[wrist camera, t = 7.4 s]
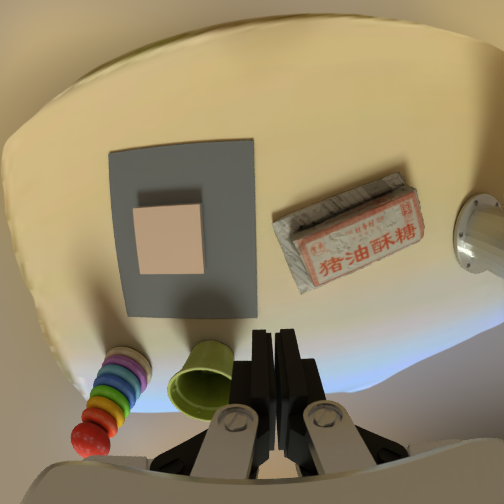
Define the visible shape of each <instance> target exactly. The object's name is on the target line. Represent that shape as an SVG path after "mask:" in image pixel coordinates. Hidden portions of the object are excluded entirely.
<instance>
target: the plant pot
mask: <svg viewBox="0 0 504 504" xmlns="http://www.w3.org/2000/svg"><path fill="white" fill-rule="evenodd" d="M233 361H234V355H233V353H232V351H231V350H230V348H229V347H228V346H226V345H224V344H222V343H220V342H218V341H214V340H207V341H203V342H200V343H198V344H197V345H196V346H195V347H194V348H193V350H192V352H191V353H190V355H189V357H188V359H187V361H186V363H185V364H184V366H183V368H182V369H181V370H180V371H179V372H178V373H176V374H175V375H174V376H173V377H172V378H171V380H170V381H169V384H168V387H167V392H168V396H169V399H170V401H171V402H172V404H173V405H174V406H175V407H176V408H177V409H178V410H179V411H181V412H182V413H183V414H185V415H187V416H189V417H191V418H194V419H197V420H202V421H208V422H211V420H212V418H213V415H214V414H215V412H216V411H217V410H218V409H220V408H221V407H224V406H226V405H229V395H230V386H231V378H232V369H233Z"/></svg>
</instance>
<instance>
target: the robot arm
mask: <svg viewBox="0 0 504 504" xmlns="http://www.w3.org/2000/svg"><path fill="white" fill-rule="evenodd" d="M454 251H455V255H456V258H457V260H458V262H459V264H460V265H461V267H462V268H464V269H465V270H466V271H468V272H470V273H474V274H477V273H482V272H484V271H486V270H488V271H490V272H491V273H493V274H495V275H497V276H499V277H500V278H502V279H504V208H502V206H501V205H500V203H499V201H498V200H497V199H496V198H495V197H493V196H492V195H489V194H484V193H480V194H476V195H474V196H472V197H471V198H470V199H468V200H467V202H466V203H465V204H464V205H463V207H462V209H461V211H460V213H459V215H458V218H457V221H456V225H455V230H454ZM276 420H277V435H278V449H279V450H284V456H285V457H287V458H288V459H290V460H291V461H293V462H295V463H296V464H295V465H296V470H297V474H298V476H299V477H296V478H281V479H257V478H258V472H259V466H260V465H261V464H263V463H264V462H265V461H266V460H268V459H269V450H274V443H275V423H276ZM20 504H504V440H501V439H496V438H479V439H472V440H466V441H462V440H459V439H449V440H443V441H435V442H427V443H417V444H409V445H408V447H403V446H402V445H400V444H398V443H396V442H394V441H391V440H389V439H386V438H384V437H381V436H379V435H377V434H374V433H372V432H370V431H367V430H365V429H363V428H361V427H358V426H356V425H354V423H353V422H352V420H351V418H350V416H349V414H348V413H347V411H346V409H345V408H344V407H343V406H342V405H340V404H339V403H336V402H334V401H329V400H326V397H325V394H324V390H323V386H322V383H321V379H320V376H319V372H318V369H317V365H316V362H315V359H314V358H311V359H301V358H300V353H299V349H298V344H297V340H296V335H295V331H294V329H280V333H275V366H274V360H273V348H272V337H271V333H266V330H252V361H233V369H232V378H231V386H230V395H229V405H226V406H224V407H221V408H220V409H218V410H217V411H216V412H215V414H214V415H213V418H212V420H211V423H210V425H209V428H208V429H207V430H205V431H203V432H201V433H200V434H198V435H196V436H194V437H193V438H191V439H189V440H187V441H185V442H183V443H182V444H180V445H178V446H176V447H174V448H172V449H170V450H168V451H166V452H164V453H162V454H160V455H159V456H157V457H156V458H154V459H147V458H146V457H131V456H106V455H91V456H88V457H86V458H85V459H84V460H82V461H63V462H58V463H55V464H52V465H50V466H48V467H46V468H45V469H44V470H43V471H42V472H41V473H40V474H39V475H38V476H37V478H36V479H35V480H34V482H33V483H32V485H31V486H30V488H29V489H28V491H27V492H26V494H25V496H24V498H23V500H22V502H21V503H20Z"/></svg>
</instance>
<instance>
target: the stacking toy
mask: <svg viewBox="0 0 504 504" xmlns="http://www.w3.org/2000/svg"><path fill="white" fill-rule="evenodd" d="M151 377H152V371H151V367H150V365H149V363H148V361H147V360H146V359H145V357H144V356H142V355H141V354H140V353H139V352H137V351H135V350H133V349H131V348H127V347H115V348H112V349H111V350H109V351H108V352H107V354H106V356H105V360H104V362H103V364H102V368H101V369H100V370H99V372H98V374H97V378H96V379H95V381H94V384H93V389H92V390H91V393H90V399H89V400H88V401H87V405H86V406H87V409H85V410H84V411H83V413H82V421H83V423H80V424H78V425H77V426H76V427H75V428H74V429H73V431H72V433H71V443H72V445H73V448H74V449H75V451H76V452H77V453H78V454H79V455H81V456H82V457H83V458H86V457H88V456H91V455H106V456H107V455H108V453H109V450H110V439H109V438H111V437H113V436H115V434H116V433H117V431H118V427H121V426H122V425H123V424H124V421H125V418H126V417H127V416H128V415H129V413H130V409H131V408H133V407H134V405H135V402H136V400H137V399H138V398H139V397H140V395H141V393H143V392H144V390H145V389H146V387H147V384H148V383H149V382H150V380H151Z"/></svg>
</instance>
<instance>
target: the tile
mask: <svg viewBox="0 0 504 504" xmlns="http://www.w3.org/2000/svg"><path fill="white" fill-rule="evenodd" d="M133 218H134V228H135V237H136V246H137V254H138V262H139V269H140V274H204V272H205V270H206V255H205V240H204V223H203V204H202V202H201V203H182V204H165V205H150V206H138V207H135V208H133Z"/></svg>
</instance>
